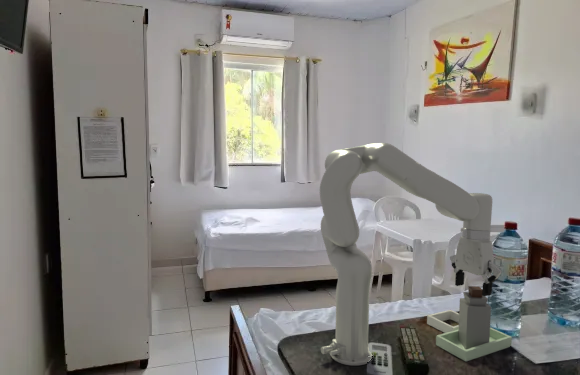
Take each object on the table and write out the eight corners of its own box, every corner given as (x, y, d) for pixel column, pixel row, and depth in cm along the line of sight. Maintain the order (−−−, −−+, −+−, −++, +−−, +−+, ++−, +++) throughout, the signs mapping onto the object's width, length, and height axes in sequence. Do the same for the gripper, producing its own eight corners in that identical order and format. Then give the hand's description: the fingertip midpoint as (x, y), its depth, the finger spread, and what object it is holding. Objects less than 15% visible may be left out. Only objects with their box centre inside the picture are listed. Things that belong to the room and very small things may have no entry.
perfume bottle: (480, 340, 129) (482, 284, 127) (488, 350, 122) (491, 292, 121) (458, 339, 130) (460, 284, 128) (465, 349, 123) (468, 291, 121)
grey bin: (452, 336, 132) (453, 328, 132) (427, 323, 142) (427, 315, 141) (476, 330, 137) (476, 321, 137) (449, 317, 147) (450, 309, 146)
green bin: (465, 361, 117) (466, 351, 116) (435, 344, 127) (436, 335, 126) (511, 346, 126) (511, 336, 125) (480, 331, 136) (480, 323, 135)
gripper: (444, 230, 128) (441, 283, 130) (493, 241, 113) (489, 301, 115) (461, 228, 132) (458, 280, 133) (511, 239, 116) (507, 297, 118)
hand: (472, 290), depth 124 cm, fingers open, 9 cm apart
